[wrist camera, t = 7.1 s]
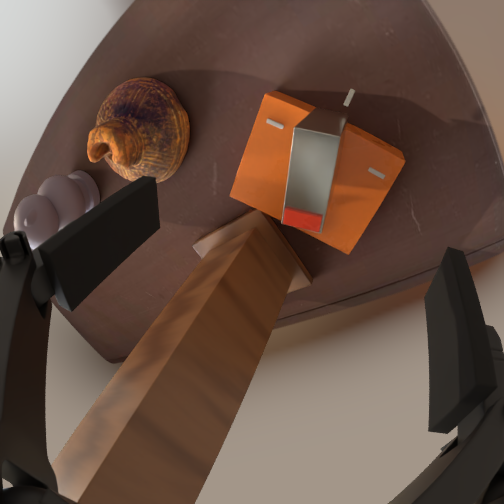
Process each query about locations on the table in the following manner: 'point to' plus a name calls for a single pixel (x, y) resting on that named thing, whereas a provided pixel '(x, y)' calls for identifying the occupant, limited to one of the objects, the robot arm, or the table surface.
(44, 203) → the cat figurine
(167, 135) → the brown rounded piece
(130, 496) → the brown wooden square column
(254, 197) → the orange flat square block
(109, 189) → the table surface
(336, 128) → the steel brick red tip
